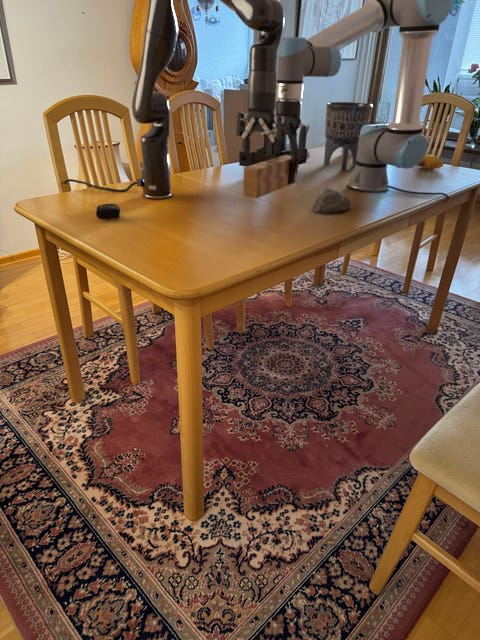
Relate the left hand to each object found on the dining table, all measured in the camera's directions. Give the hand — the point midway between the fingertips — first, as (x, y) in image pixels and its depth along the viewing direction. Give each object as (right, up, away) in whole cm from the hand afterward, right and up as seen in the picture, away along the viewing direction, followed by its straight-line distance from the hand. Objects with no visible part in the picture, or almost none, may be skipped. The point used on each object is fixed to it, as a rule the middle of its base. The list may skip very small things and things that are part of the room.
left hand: (259, 154), depth 127 cm
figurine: (+52, +41, +111) cm, 129 cm away
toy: (+83, +25, +85) cm, 121 cm away
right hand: (+8, -3, +16) cm, 18 cm away
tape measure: (-45, -16, +11) cm, 49 cm away
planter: (+42, +25, +84) cm, 97 cm away
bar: (+4, -6, +11) cm, 13 cm away
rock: (+25, -10, +23) cm, 36 cm away
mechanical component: (+12, +17, +70) cm, 73 cm away
